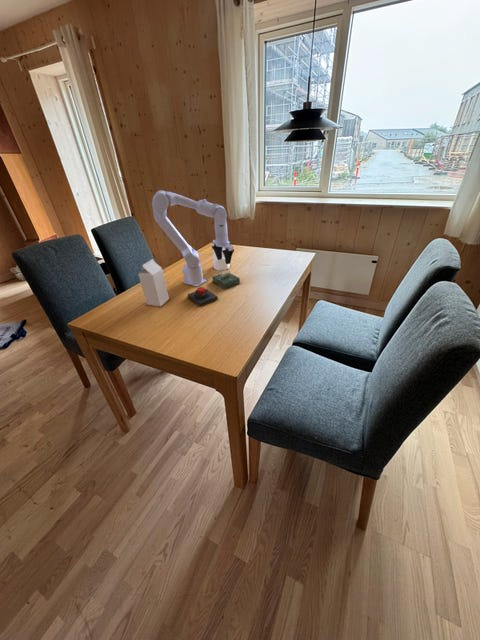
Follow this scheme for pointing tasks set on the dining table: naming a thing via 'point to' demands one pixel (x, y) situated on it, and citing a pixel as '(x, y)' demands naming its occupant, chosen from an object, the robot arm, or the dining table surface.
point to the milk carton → (153, 284)
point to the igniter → (202, 297)
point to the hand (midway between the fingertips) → (223, 261)
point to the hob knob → (225, 273)
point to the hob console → (226, 280)
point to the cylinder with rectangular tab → (220, 262)
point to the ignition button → (201, 290)
